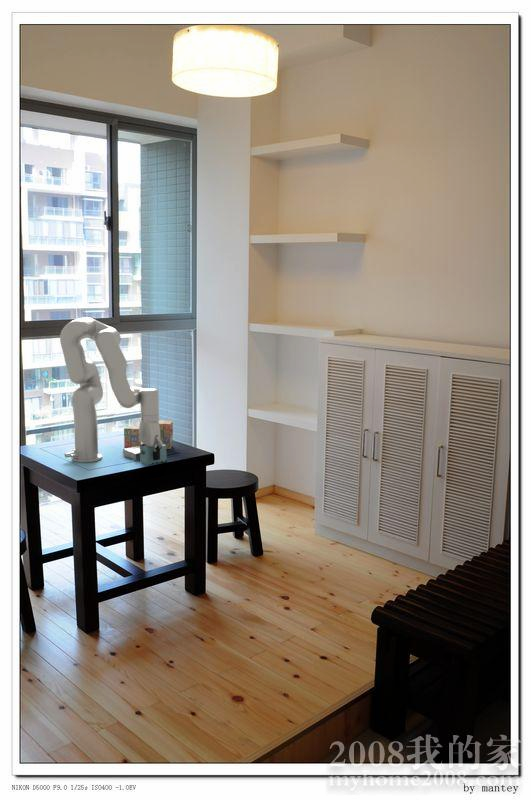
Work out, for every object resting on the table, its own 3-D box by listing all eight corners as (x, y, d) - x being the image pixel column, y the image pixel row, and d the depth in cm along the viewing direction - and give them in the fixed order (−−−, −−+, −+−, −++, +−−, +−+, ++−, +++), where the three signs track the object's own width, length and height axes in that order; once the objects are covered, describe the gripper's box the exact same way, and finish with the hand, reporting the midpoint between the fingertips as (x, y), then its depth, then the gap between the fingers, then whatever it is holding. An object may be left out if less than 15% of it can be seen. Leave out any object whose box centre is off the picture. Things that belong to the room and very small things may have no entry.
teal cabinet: (145, 465, 314) (144, 449, 312) (138, 462, 317) (138, 446, 316) (166, 461, 321) (166, 445, 319) (159, 458, 324) (159, 442, 323)
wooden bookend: (137, 460, 320) (136, 433, 317) (122, 455, 328) (121, 428, 326) (160, 456, 327) (160, 429, 325) (145, 450, 336) (144, 424, 334)
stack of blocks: (124, 448, 340) (123, 421, 338) (127, 444, 346) (127, 418, 344) (170, 450, 338) (170, 423, 336) (173, 446, 345) (173, 420, 342)
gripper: (131, 415, 318) (131, 455, 322) (153, 422, 306) (154, 463, 309) (146, 413, 323) (146, 452, 327) (169, 420, 311) (169, 460, 314)
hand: (150, 457), depth 318 cm, fingers open, 8 cm apart
